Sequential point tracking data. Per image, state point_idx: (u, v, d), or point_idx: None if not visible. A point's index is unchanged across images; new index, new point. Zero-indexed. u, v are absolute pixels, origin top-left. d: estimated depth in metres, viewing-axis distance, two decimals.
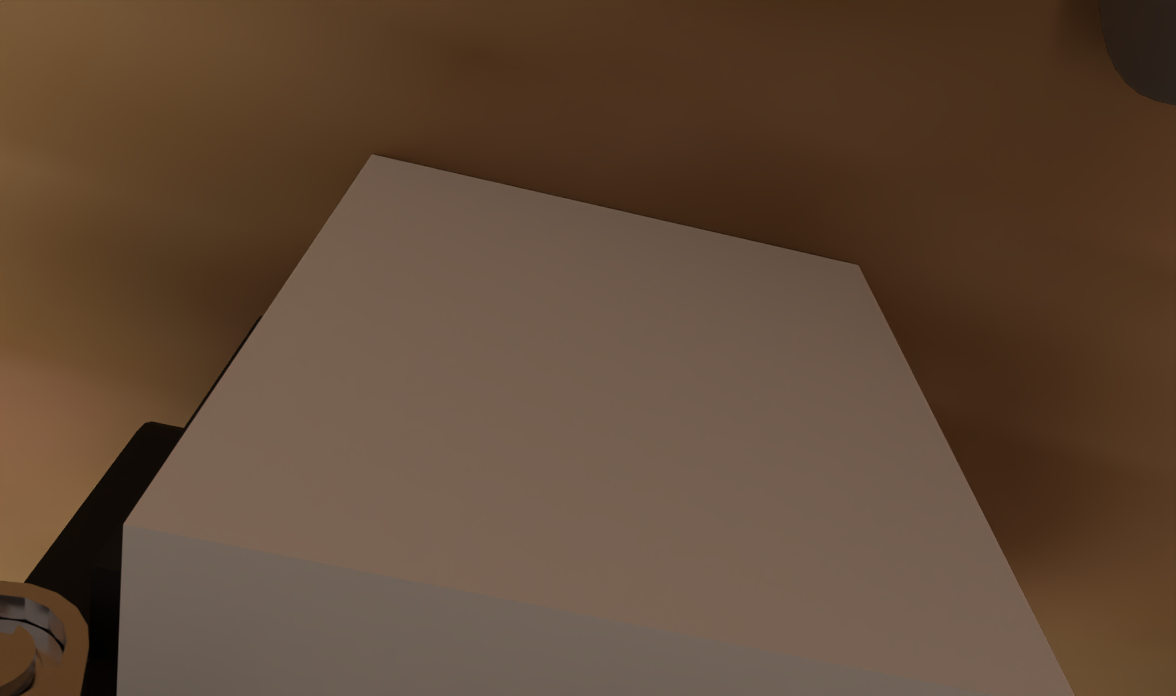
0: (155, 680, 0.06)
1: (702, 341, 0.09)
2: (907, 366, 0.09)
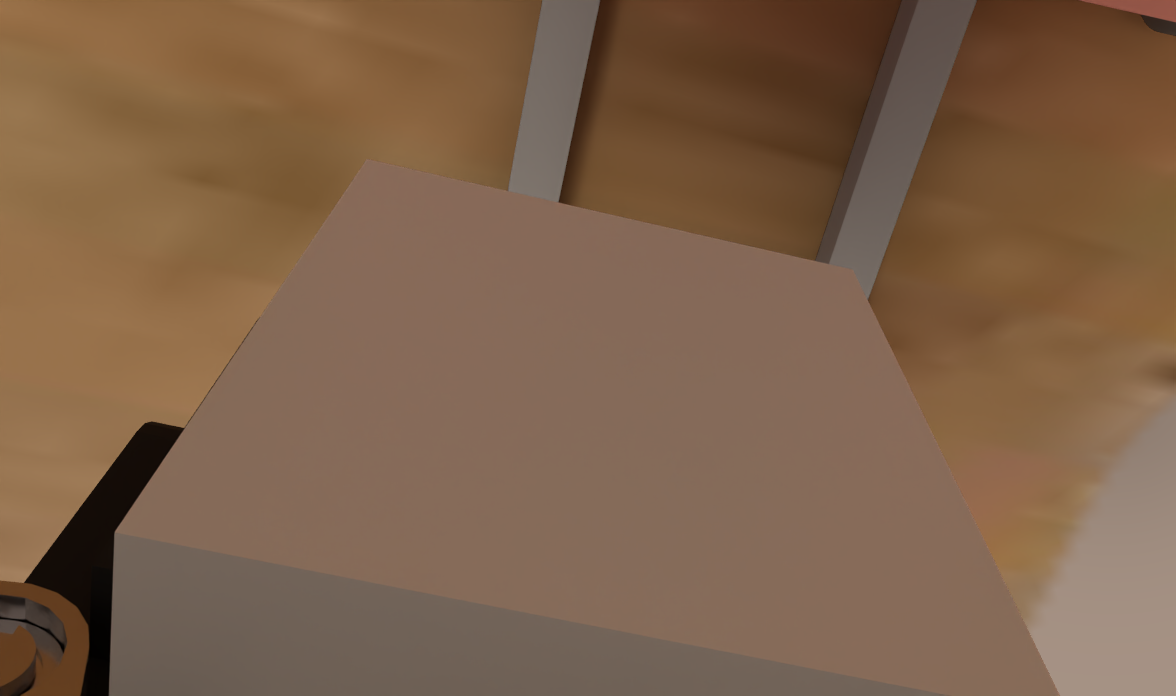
0: (147, 687, 0.06)
1: (696, 348, 0.09)
2: (900, 371, 0.09)
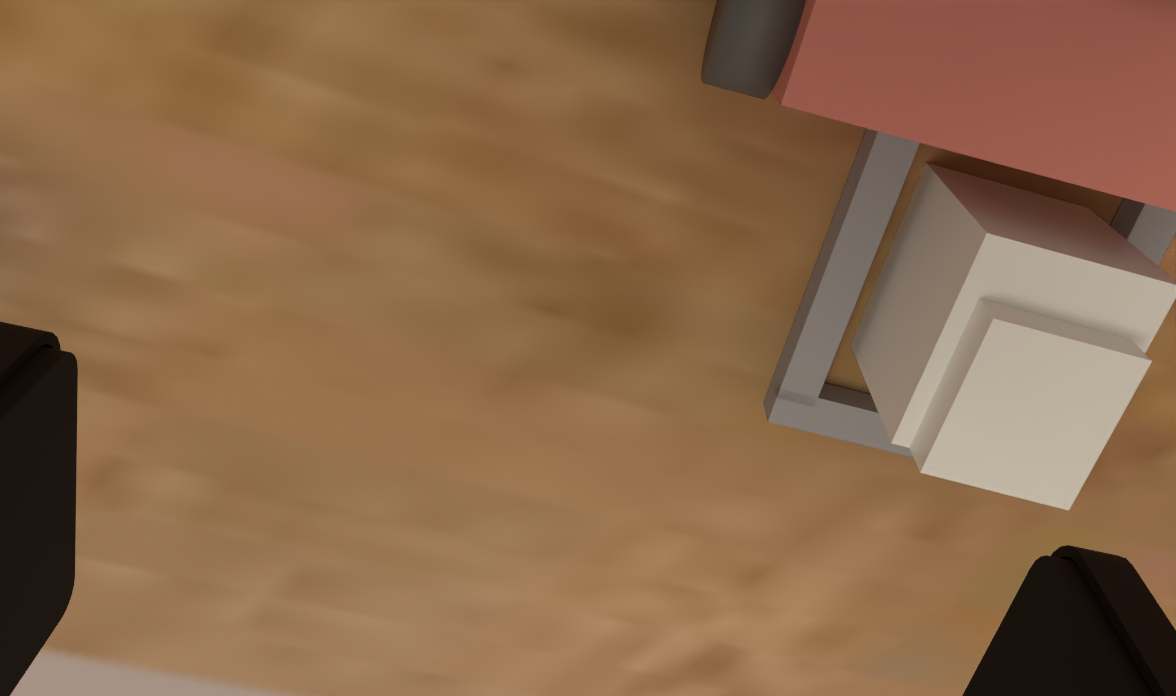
0: (977, 273, 0.26)
1: (1060, 220, 0.29)
2: (1117, 232, 0.29)
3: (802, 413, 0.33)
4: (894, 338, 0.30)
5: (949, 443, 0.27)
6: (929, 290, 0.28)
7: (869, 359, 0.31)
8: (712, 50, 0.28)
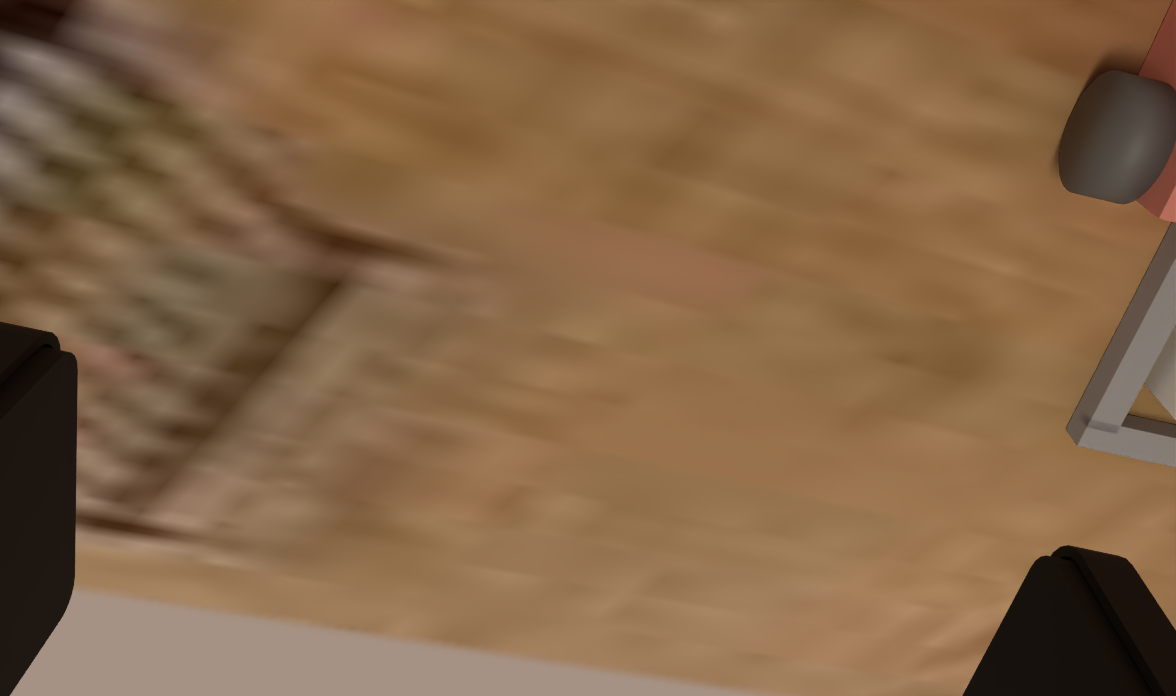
0: None
1: None
2: None
3: (1106, 438, 0.41)
4: None
5: None
6: None
7: (1173, 397, 0.39)
8: (1081, 168, 0.35)
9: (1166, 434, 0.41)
